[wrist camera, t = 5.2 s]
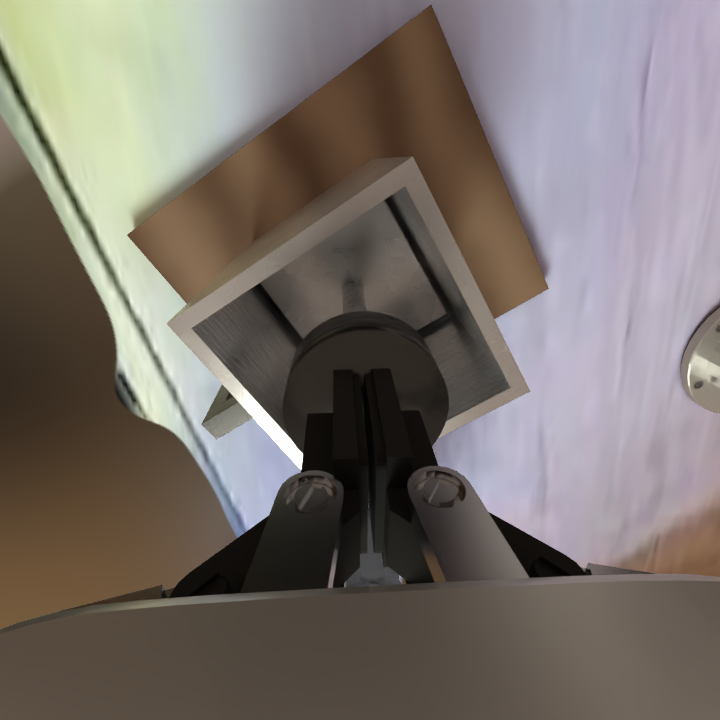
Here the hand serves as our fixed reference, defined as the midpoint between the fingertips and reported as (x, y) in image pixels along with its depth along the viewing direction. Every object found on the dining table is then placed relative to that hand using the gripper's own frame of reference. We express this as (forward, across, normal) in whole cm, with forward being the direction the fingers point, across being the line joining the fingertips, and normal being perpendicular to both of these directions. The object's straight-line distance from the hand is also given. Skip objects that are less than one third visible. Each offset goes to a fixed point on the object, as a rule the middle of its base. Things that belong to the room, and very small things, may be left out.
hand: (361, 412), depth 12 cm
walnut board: (+21, 0, 0) cm, 21 cm away
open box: (+20, +1, +1) cm, 20 cm away
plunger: (+13, 0, 0) cm, 13 cm away
